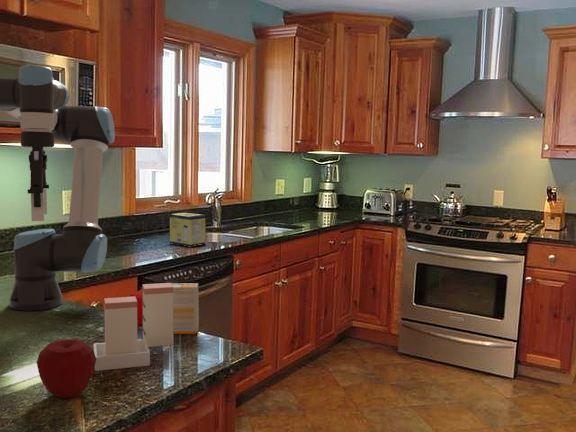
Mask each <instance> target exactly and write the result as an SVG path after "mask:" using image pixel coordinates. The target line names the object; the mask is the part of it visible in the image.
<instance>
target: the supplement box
mask: <svg viewBox="0 0 576 432" xmlns="http://www.w3.org/2000/svg"><path fill="white" fill-rule="evenodd" d="M170 283H171V284H172V286H173V335H197V334H198V331H199V325H200V323H199V322H200V321H199V320H200V319H199V318H200V317H199V316H200V315H199V311H200V309H199V304H200V303H199V283H198V282H197V283H196V282H195V283H194V282H193V283H192V282H191V283H190V282H189V283H186V282H184V283H182V282H181V283H180V282H179V283H178V282H170ZM196 333H197V334H196Z"/></svg>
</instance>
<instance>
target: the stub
mask: <svg viewBox="0 0 576 432" xmlns="http://www.w3.org/2000/svg"><path fill="white" fill-rule="evenodd" d="M103 303H104V305H103V307H104V343H105V356H108V355H119V354H129V353H137V340H138V325H137V300H136V297H135V296H134V297H128V296H121V297H107V298H105V297H104V300H103Z"/></svg>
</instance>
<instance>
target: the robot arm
mask: <svg viewBox="0 0 576 432" xmlns="http://www.w3.org/2000/svg"><path fill="white" fill-rule="evenodd" d="M69 100H70V93H69V89H68V88H67V86H65V84H63V83H62V82H61V81H59V80H57V79H54V75H53V70H52V68H51V67H48V66H44V65H38V64H37V65H33V64H25V65H21V66H20V67H19V69H18V77H16V78H15V77H0V110H1V111H3V112H5V113H6V114H8V115H9V116H12V117H13V118H15V119H17V120H18V121H20V129H21V130H23V131H20V146H21V147H24V148H31V151H30V152H29V154H28V162H29V171H30V186H29V189H27V194H30V205H31V211H30V213H31V222H44V221H45V215H47V214H48V204H47V203H48V201H47V200H48V198H47V197H48V196H47V189H50V184H47V175H46V173H47V172H46V171H47V169H48V167H47V162H48V155H47V154H46V151H45V150H44V148H54V146H55V141H58V142H68V143H70V146H71V148H72V149H73V150H74V158H73V161H74V162H73V171H72V180H71V182H72V183H71V193H70V194H71V195H70V204H69V205H70V206H69V214H68V222H67V223H65V225H64V226H63V227H62V233H56V230H55V229H54V228H41V229H40V228H39V229H34V230H28V231H24V232H20V233H18V234H16V235H15V236H14V238H13V249H12V250H13V260H14V261H13V262H14V284H13V287H12V290H11V294H10V297H9V300H8V301H9V303H8V304H9V308H10V309H12V310H14V311H15V310H16V311H20V312H21V311H22V312H23V311H24V312H28V311H30V312H31V311H42V310H49V309H54V308H55V307H59V306H61V305H62V304H63V294H62V291H61V288H60V286H59V284H58V279H57V272H60V273H61V272H65V273H66V272H68V273H69V272H70V273H71V272H73V273H74V272H75V273H77V272H78V273H81V272H82V273H88V272H89V273H90V272H91V273H92V272H98V271H99V270H100V269H101V268H102V266H103V265H104V263H105V260H106V256H107V250H108V237H107V236H106V235H105V234H104V233H103V229H102V228H101V227H100V225H99V213H100V212H99V211H100V195H101V185H102V184H101V183H102V182H101V181H102V171H103V170H102V169H103V156H104V154H105V153H106V152H107V151H108V150H109V144H113V143H115V139H116V131H115V124H114V119H113V115H112V113H111V110H110V109H109V108H107V107H103V106H96V105H94V106H89V105H88V106H83V105H82V106H81V105H67V104H68V103H69Z"/></svg>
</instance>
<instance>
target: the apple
mask: <svg viewBox="0 0 576 432" xmlns="http://www.w3.org/2000/svg"><path fill="white" fill-rule="evenodd" d="M95 363H96V356H95V354H94V348H93V347H92V346H91V345H89V344H88V343H86V341H83V340H82V339H78V338H72V339H71V338H66V339H59V340H54V341H52V342H49V343H48V344H47V345H46V346H45V347H44V348H43V349H42V350H41V351H40V352H39V355H38V357H37V360H36V366H37V370H38V374H39V378H40V380H41V382H42V384H43V385H44V388H46V391H47V392H48V393H50V394H51V395H53V396H54V397H58V398H60V399H70V398H75V397H77V396H78V395H80V394H81V393H83V391H85V389H86V388H87V387H88V385H89V383H90V381H91V379H92V377H93V374H94V371H95Z"/></svg>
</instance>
